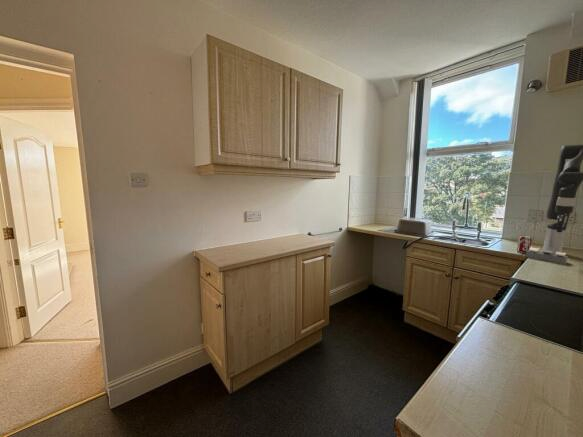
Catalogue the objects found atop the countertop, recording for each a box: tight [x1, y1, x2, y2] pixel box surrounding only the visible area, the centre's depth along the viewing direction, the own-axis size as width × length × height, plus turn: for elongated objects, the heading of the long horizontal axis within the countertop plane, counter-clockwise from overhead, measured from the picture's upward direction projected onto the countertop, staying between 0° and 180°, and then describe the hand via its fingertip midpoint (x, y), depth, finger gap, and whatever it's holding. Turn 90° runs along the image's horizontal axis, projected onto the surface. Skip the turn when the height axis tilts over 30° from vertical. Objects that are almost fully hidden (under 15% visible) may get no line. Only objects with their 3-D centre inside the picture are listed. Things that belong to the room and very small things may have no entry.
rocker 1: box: [529, 245, 540, 252], centre depth 162 cm, size 6×4×1 cm, turn 126°
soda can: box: [516, 235, 533, 254], centre depth 173 cm, size 7×7×12 cm
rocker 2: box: [555, 251, 567, 256], centre depth 153 cm, size 6×4×1 cm, turn 127°
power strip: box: [525, 250, 569, 266], centre depth 158 cm, size 8×18×5 cm, turn 37°
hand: (559, 232), depth 153 cm, fingers closed
